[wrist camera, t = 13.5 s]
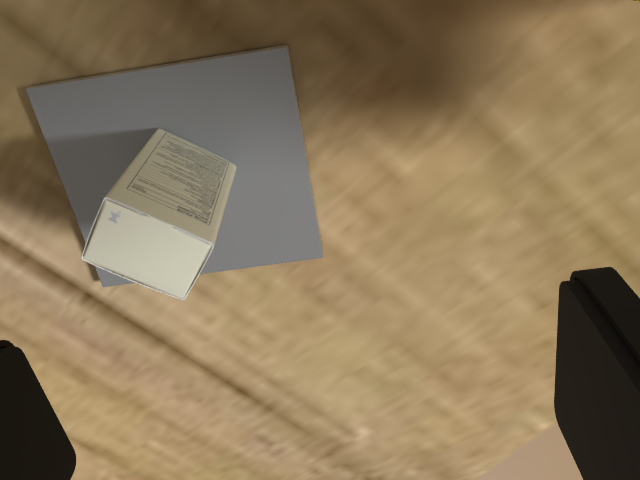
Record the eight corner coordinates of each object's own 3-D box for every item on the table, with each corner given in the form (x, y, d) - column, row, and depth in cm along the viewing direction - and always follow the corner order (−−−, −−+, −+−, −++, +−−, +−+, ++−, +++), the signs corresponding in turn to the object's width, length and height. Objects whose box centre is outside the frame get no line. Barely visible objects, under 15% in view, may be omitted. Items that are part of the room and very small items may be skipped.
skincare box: (137, 176, 41) (71, 258, 30) (158, 124, 39) (97, 192, 28) (218, 214, 42) (183, 306, 31) (242, 166, 40) (214, 246, 30)
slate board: (287, 44, 38) (287, 47, 37) (322, 250, 45) (323, 257, 44) (33, 85, 39) (25, 89, 38) (107, 279, 46) (102, 287, 45)
